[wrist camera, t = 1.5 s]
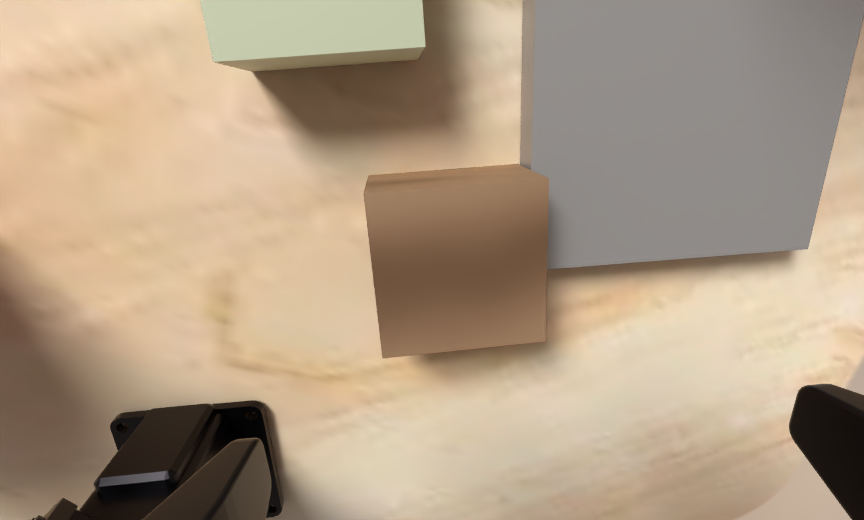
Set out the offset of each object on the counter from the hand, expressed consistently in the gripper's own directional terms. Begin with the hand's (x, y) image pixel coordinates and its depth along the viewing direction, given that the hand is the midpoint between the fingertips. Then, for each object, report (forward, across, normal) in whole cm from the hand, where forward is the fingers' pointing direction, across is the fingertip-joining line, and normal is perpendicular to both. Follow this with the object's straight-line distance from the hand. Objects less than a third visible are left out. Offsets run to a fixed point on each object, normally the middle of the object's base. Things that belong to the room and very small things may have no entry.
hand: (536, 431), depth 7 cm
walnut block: (+12, 0, +1) cm, 12 cm away
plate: (+12, -9, -4) cm, 16 cm away
